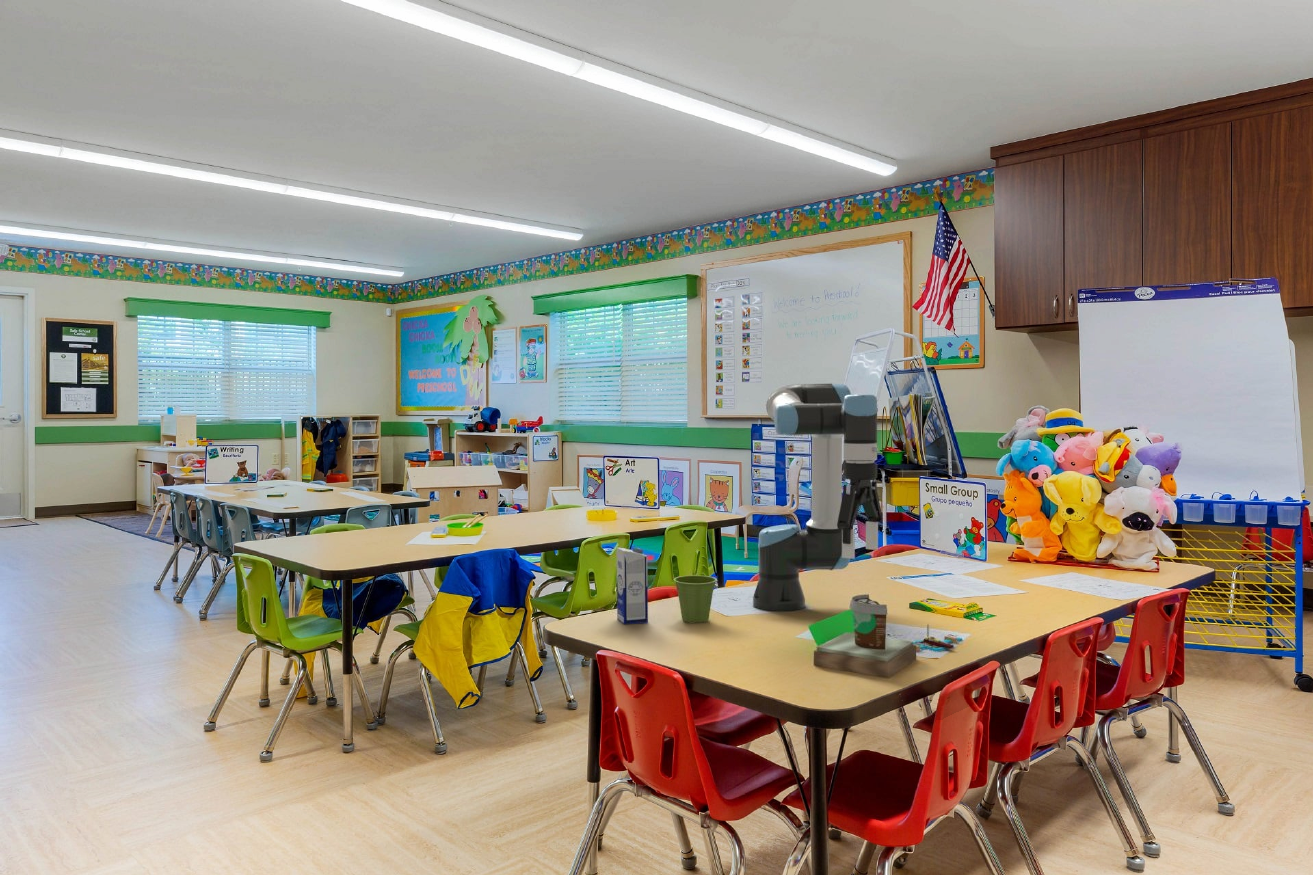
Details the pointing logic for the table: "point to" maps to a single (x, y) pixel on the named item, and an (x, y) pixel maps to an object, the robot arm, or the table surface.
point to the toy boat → (936, 643)
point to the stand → (865, 656)
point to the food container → (869, 622)
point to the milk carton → (632, 586)
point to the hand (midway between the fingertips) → (860, 553)
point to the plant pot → (695, 597)
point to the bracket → (832, 627)
